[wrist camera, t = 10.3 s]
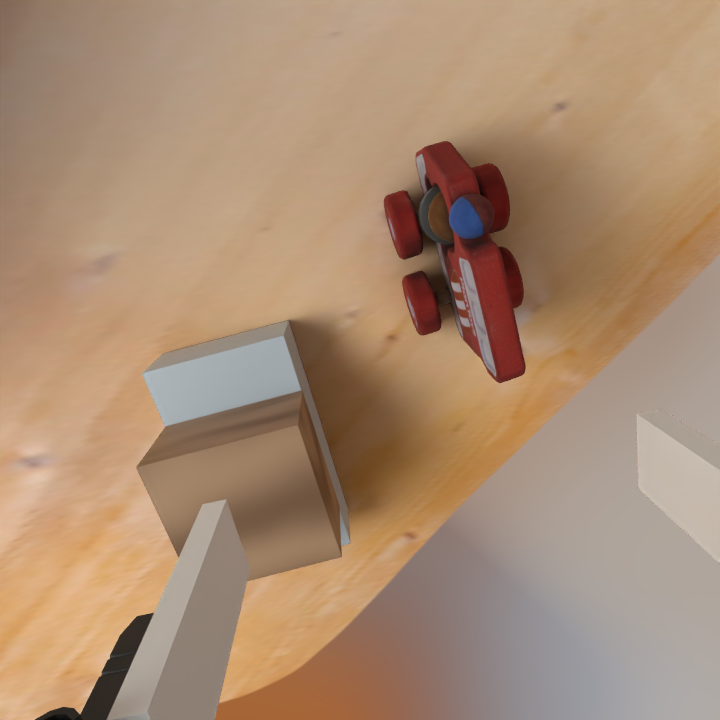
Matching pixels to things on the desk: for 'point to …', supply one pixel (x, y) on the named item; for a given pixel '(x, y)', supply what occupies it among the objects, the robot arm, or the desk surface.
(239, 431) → the walnut block
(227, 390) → the plinth
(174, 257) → the desk surface
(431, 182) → the toy fire truck
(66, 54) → the desk surface
